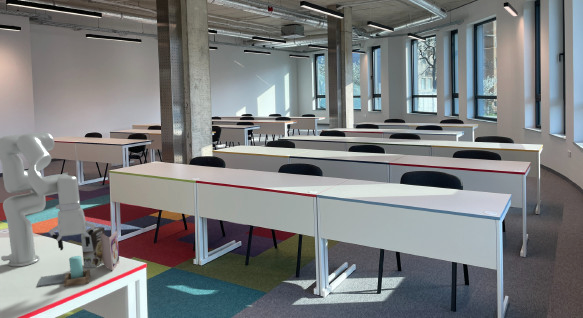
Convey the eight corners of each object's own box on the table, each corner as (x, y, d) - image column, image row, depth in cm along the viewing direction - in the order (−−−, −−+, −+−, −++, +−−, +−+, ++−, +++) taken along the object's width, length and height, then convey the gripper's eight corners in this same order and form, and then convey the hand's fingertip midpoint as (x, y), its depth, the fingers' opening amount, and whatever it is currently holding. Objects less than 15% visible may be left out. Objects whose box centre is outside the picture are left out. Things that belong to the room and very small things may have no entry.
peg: (71, 284, 194) (68, 260, 193) (72, 280, 198) (69, 256, 197) (83, 282, 196) (80, 258, 194) (84, 278, 200) (81, 255, 198)
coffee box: (96, 267, 212) (92, 232, 209) (83, 267, 213) (79, 232, 211) (108, 260, 220) (104, 226, 218) (95, 260, 222) (92, 226, 219)
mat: (37, 287, 192) (37, 285, 192) (41, 278, 202) (41, 276, 201) (64, 283, 195) (64, 281, 195) (67, 274, 205) (67, 273, 205)
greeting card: (114, 271, 207) (111, 237, 205) (96, 272, 206) (93, 238, 204) (121, 261, 218) (118, 230, 216) (104, 263, 217) (101, 231, 215)
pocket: (64, 286, 191) (63, 280, 191) (67, 278, 200) (66, 273, 199) (88, 283, 194) (88, 277, 194) (90, 275, 203) (89, 269, 202)
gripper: (44, 211, 186) (50, 253, 188) (92, 205, 192) (97, 247, 194) (47, 207, 193) (52, 248, 195) (93, 202, 199) (98, 242, 201)
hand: (74, 247), depth 195 cm, fingers open, 9 cm apart
